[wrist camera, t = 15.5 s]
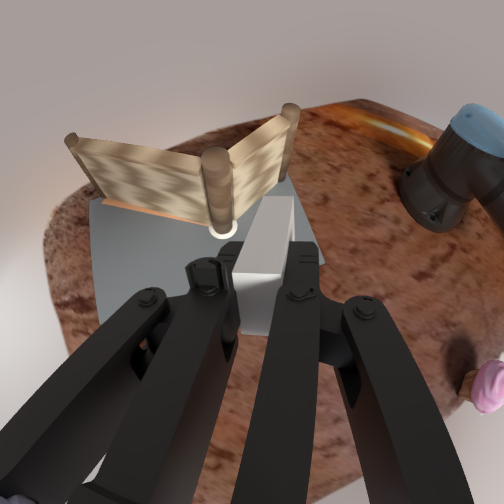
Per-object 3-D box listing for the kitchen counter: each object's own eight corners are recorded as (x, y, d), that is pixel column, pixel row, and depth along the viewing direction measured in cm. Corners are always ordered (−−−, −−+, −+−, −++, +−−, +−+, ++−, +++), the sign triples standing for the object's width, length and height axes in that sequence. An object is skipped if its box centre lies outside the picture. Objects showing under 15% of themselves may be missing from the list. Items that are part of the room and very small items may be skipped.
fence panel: (213, 216, 45) (203, 152, 31) (209, 227, 44) (196, 166, 30) (104, 188, 46) (69, 132, 32) (99, 197, 45) (61, 142, 31)
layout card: (277, 152, 51) (277, 150, 50) (324, 263, 43) (325, 262, 43) (89, 202, 46) (88, 200, 46) (100, 324, 39) (99, 324, 38)
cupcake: (461, 357, 38) (500, 350, 29) (487, 371, 37) (524, 366, 27) (444, 405, 35) (483, 407, 26) (472, 416, 34) (509, 419, 25)
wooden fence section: (276, 167, 49) (289, 94, 34) (289, 177, 48) (307, 105, 33) (209, 226, 44) (195, 157, 29) (222, 238, 44) (214, 172, 29)
